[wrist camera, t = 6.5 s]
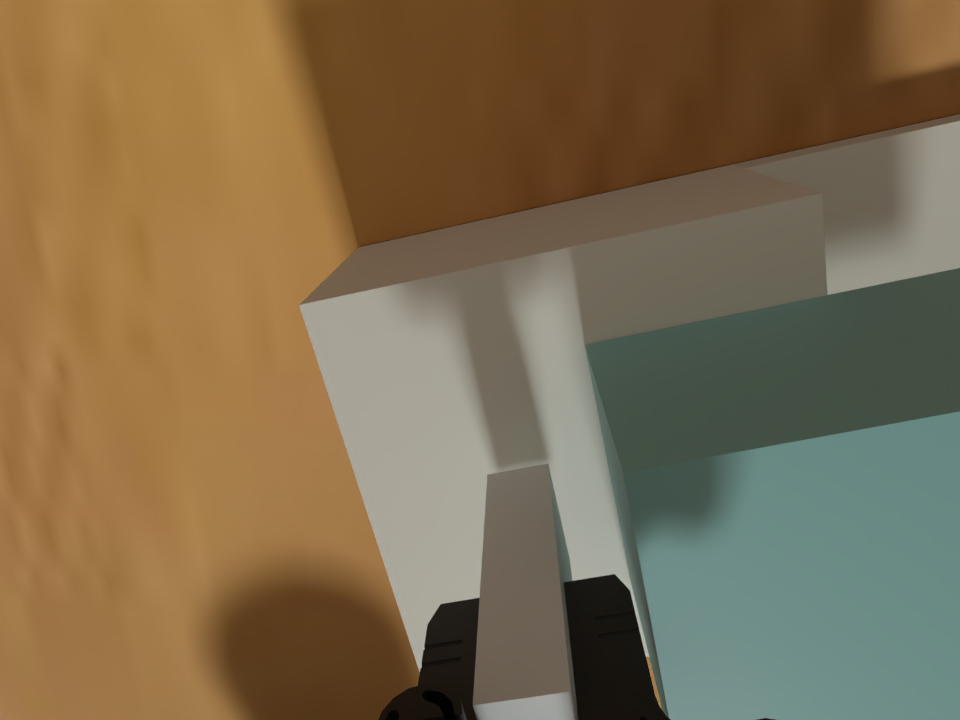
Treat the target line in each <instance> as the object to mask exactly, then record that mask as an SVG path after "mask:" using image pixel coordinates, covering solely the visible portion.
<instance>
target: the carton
mask: <svg viewBox="0 0 960 720" xmlns="http://www.w3.org/2000/svg"><path fill="white" fill-rule="evenodd" d="M585 349H586V354H587V359H588V364H589V369H590V375H591V380H592V385H593V390H594V395H595V400H596V405H597V411H598V416H599V421H600V426H601V431H602V436H603V441H604V447H605V452H606V457H607V462H608V467H609V472H610V477H611V483H612V488H613V493H614V498H615V503H616V508H617V513H618V519H619V524H620V529H621V534H622V539H623V544H624V549H625V555H626V560H627V565H628V570H629V575H630V580H631V585H632V589H633V593H634V597H635V601H636V605H637V609H638V613H639V617H640V621H641V625H642V629H643V633H644V637H645V641H646V645H647V649H648V653H649V657H650V661H651V665H652V669H653V673H654V677H655V681H656V685H657V689H658V693H659V697H660V702H661V706H662V710H663V712H664V713H665V715H666V716H667V717H668V718H669V719H671V720H757V719H763V718H768V719H775V720H960V268H957V269H952V270H947V271H942V272H937V273H933V274H928V275H923V276H918V277H913V278H908V279H903V280H898V281H894V282H889V283H884V284H879V285H874V286H869V287H864V288H860V289H855V290H850V291H845V292H840V293H835V294H830V295H825V296H821V297H816V298H811V299H806V300H801V301H796V302H791V303H787V304H782V305H777V306H772V307H767V308H762V309H757V310H752V311H748V312H743V313H738V314H733V315H728V316H723V317H718V318H714V319H709V320H704V321H699V322H694V323H689V324H684V325H679V326H675V327H670V328H665V329H660V330H655V331H650V332H645V333H641V334H636V335H631V336H626V337H621V338H616V339H611V340H607V341H602V342H597V343H592V344H587V345H585Z"/></svg>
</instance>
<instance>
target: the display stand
mask: <svg viewBox="0 0 960 720" xmlns="http://www.w3.org/2000/svg"><path fill="white" fill-rule="evenodd" d="M957 268H960V114H958V115H954V116H949V117H945V118H940V119H936V120H931V121H927V122H922V123H918V124H913V125H909V126H904V127H900V128H895V129H890V130H886V131H881V132H877V133H872V134H868V135H863V136H859V137H854V138H850V139H845V140H841V141H836V142H832V143H827V144H823V145H818V146H814V147H809V148H805V149H800V150H796V151H791V152H787V153H782V154H778V155H773V156H769V157H764V158H760V159H755V160H751V161H746V162H742V163H737V164H733V165H728V166H724V167H719V168H715V169H710V170H706V171H701V172H697V173H692V174H688V175H683V176H679V177H674V178H670V179H665V180H660V181H656V182H651V183H647V184H642V185H638V186H633V187H629V188H624V189H620V190H615V191H611V192H606V193H602V194H597V195H593V196H588V197H584V198H579V199H575V200H570V201H566V202H561V203H557V204H552V205H548V206H543V207H539V208H534V209H530V210H525V211H521V212H516V213H512V214H507V215H503V216H498V217H494V218H489V219H485V220H480V221H476V222H471V223H467V224H462V225H458V226H453V227H449V228H444V229H440V230H435V231H431V232H426V233H421V234H417V235H412V236H408V237H403V238H399V239H394V240H390V241H385V242H381V243H376V244H372V245H367V246H363V247H358V248H357V249H356V250H355V251H354V252H353V253H352V254H351V255H350V256H349V257H348V258H347V259H346V260H345V261H344V262H343V263H342V264H341V265H340V266H339V267H338V268H337V269H336V270H334V271H333V272H332V273H331V274H330V275H329V276H328V277H327V278H326V279H325V280H324V281H323V282H322V283H321V284H320V285H319V286H318V287H317V288H316V289H315V290H314V291H313V292H312V293H311V294H310V295H309V296H308V297H307V298H306V299H305V300H304V301H303V302H302V303H301V304H300V305H299V307H300V310H301V313H302V316H303V319H304V322H305V325H306V328H307V331H308V334H309V337H310V340H311V343H312V346H313V349H314V352H315V355H316V358H317V361H318V364H319V367H320V370H321V373H322V377H323V380H324V383H325V386H326V389H327V392H328V395H329V398H330V401H331V404H332V407H333V410H334V413H335V416H336V419H337V422H338V425H339V428H340V431H341V434H342V437H343V440H344V444H345V447H346V450H347V453H348V456H349V459H350V462H351V465H352V468H353V471H354V474H355V477H356V480H357V483H358V486H359V489H360V492H361V495H362V498H363V501H364V504H365V507H366V511H367V514H368V517H369V520H370V523H371V526H372V529H373V532H374V535H375V538H376V541H377V544H378V547H379V550H380V553H381V556H382V559H383V562H384V565H385V568H386V571H387V574H388V577H389V581H390V584H391V587H392V590H393V593H394V596H395V599H396V602H397V605H398V608H399V611H400V614H401V617H402V620H403V623H404V626H405V629H406V632H407V635H408V638H409V641H410V644H411V648H412V651H413V654H414V657H415V660H416V663H417V666H418V669H419V672H420V669H421V668H422V657H423V650H425V647H424V644H425V638H426V631H427V625H428V623H429V621H430V620H431V618H432V617H433V615H434V614H435V612H436V610H437V609H438V607H439V606H440V604H444V603H450V602H456V601H462V600H469V599H475V598H480V582H481V567H482V551H483V535H484V519H485V503H486V488H487V474H493V473H498V472H504V471H509V470H515V469H520V468H526V467H531V466H536V465H542V464H547V463H548V465H549V469H550V474H551V478H552V482H553V487H554V491H555V496H556V500H557V505H558V509H559V513H560V518H561V522H562V527H563V531H564V535H565V540H566V544H567V549H568V553H569V558H570V564H571V572H572V580H573V581H575V580H581V579H587V578H593V577H600V576H606V575H612V574H615V575H616V576H617V577H618V578H619V579H620V580H621V581H622V582H623V583H624V585H625V586H626V587H627V588H628V589H629V590H630V593H631V597H632V601H633V605H634V610H635V614H636V618H637V622H638V626H639V631H640V635H641V639H642V643H643V647H644V652H645V656H646V657H649V653H648V649H647V645H646V641H645V637H644V633H643V629H642V625H641V621H640V617H639V613H638V609H637V605H636V601H635V597H634V593H633V589H632V585H631V580H630V575H629V570H628V565H627V560H626V555H625V549H624V544H623V539H622V534H621V529H620V524H619V519H618V513H617V508H616V503H615V498H614V493H613V488H612V483H611V477H610V472H609V467H608V462H607V457H606V452H605V447H604V441H603V436H602V431H601V426H600V421H599V416H598V411H597V405H596V400H595V395H594V390H593V385H592V380H591V375H590V369H589V364H588V359H587V354H586V349H585V345H587V344H592V343H597V342H602V341H607V340H611V339H616V338H621V337H626V336H631V335H636V334H641V333H645V332H650V331H655V330H660V329H665V328H670V327H675V326H679V325H684V324H689V323H694V322H699V321H704V320H709V319H714V318H718V317H723V316H728V315H733V314H738V313H743V312H748V311H752V310H757V309H762V308H767V307H772V306H777V305H782V304H787V303H791V302H796V301H801V300H806V299H811V298H816V297H821V296H825V295H830V294H835V293H840V292H845V291H850V290H855V289H860V288H864V287H869V286H874V285H879V284H884V283H889V282H894V281H898V280H903V279H908V278H913V277H918V276H923V275H928V274H933V273H937V272H942V271H947V270H952V269H957Z"/></svg>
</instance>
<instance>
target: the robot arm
mask: <svg viewBox="0 0 960 720" xmlns="http://www.w3.org/2000/svg"><path fill="white" fill-rule="evenodd" d="M424 647H425V650H423V657H422V668H421V669H420V676H419V682H418V686H416V687H413V688H409V689H407V690H406V691H404V692H403V693H401V694H399V695H398V696H396V697H395V698H393V699H392V701H391V702H390V703H389V704H388V705H387V706H386V707H385V709H384V710H383V711H382V713H381V715H380V717H379V720H671V719H669V718H668V717H667V716H666V715H665V713H664V712H663V711H662V709H661V708H660V707H659V704H658V702H657V699H656V697H655V694H654V689H653V685H652V681H651V677H650V673H649V668H648V664H647V660H646V656H645V652H644V647H643V643H642V639H641V635H640V631H639V626H638V622H637V618H636V614H635V610H634V605H633V601H632V597H631V593H630V590H629V589H628V588H627V587H626V586H625V585H624V583H623V582H622V581H621V580H620V579H619V578H618V577H617V576H616V575H615V574H612V575H606V576H600V577H593V578H587V579H581V580H575V581H573V580H572V572H571V564H570V558H569V553H568V549H567V544H566V540H565V535H564V531H563V527H562V522H561V518H560V513H559V509H558V505H557V500H556V496H555V491H554V487H553V482H552V478H551V474H550V469H549V465H548V463H547V464H542V465H536V466H531V467H526V468H520V469H515V470H509V471H504V472H498V473H493V474H487V488H486V503H485V519H484V535H483V551H482V567H481V582H480V598H475V599H469V600H462V601H456V602H450V603H444V604H440V606H439V607H438V609H437V610H436V612H435V614H434V615H433V617H432V618H431V620H430V621H429V623H428V625H427V631H426V638H425V644H424ZM757 720H775V719H768V718H763V719H757Z"/></svg>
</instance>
